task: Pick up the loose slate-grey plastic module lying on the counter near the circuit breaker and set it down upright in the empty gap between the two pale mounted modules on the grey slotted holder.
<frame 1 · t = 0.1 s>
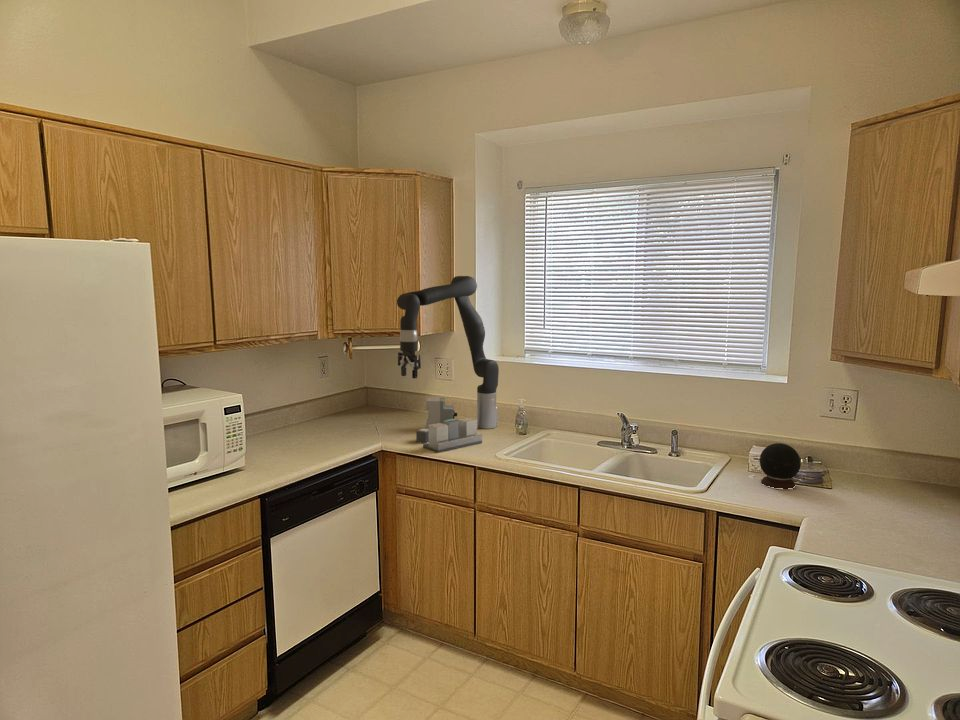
hand: (409, 377, 271), 29 cm above the worktop, fingers open, 8 cm apart
module: (451, 438, 283), on the worktop
grey slotted holder: (452, 445, 271), on the worktop
circuit breaker: (442, 430, 296), on the worktop
black ball on stand: (778, 485, 221), on the worktop
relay: (424, 441, 277), on the worktop
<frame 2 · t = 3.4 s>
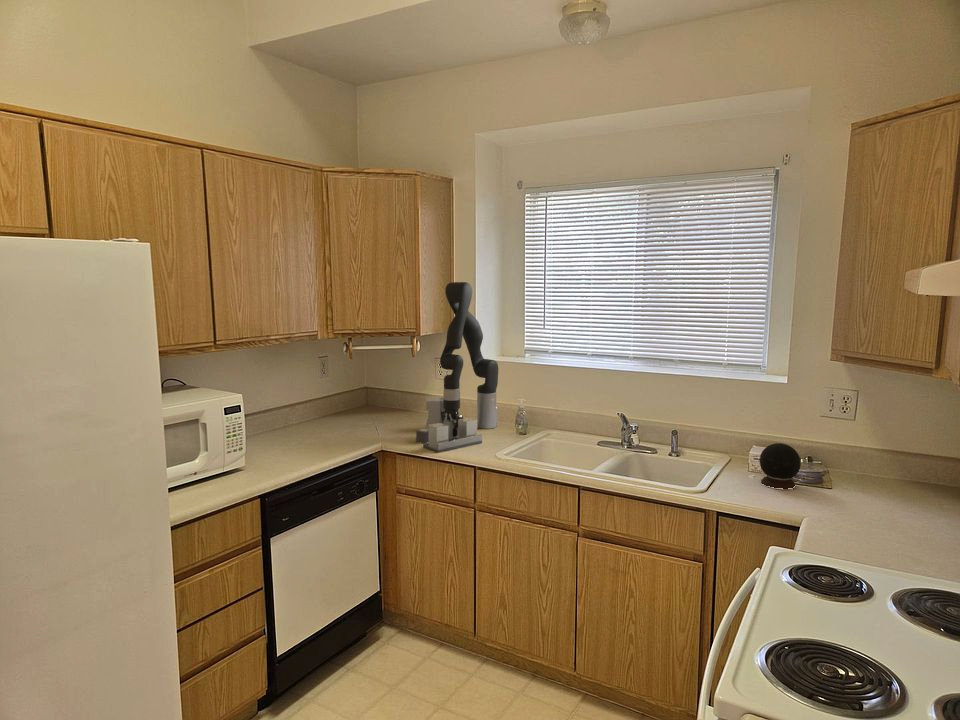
hand: (451, 435, 282), 1 cm above the worktop, fingers closed on module, 4 cm apart
module: (451, 438, 283), on the worktop, touching gripper
everything else where it was.
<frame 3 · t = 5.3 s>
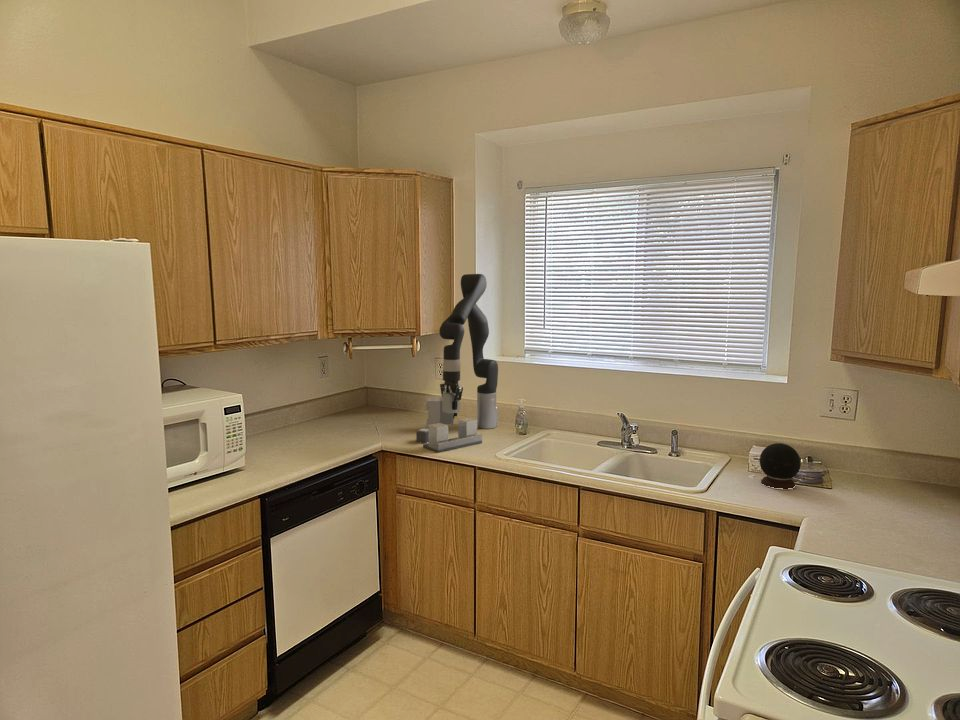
hand: (451, 408, 269), 16 cm above the worktop, fingers closed on module, 4 cm apart
module: (450, 411, 269), point 15 cm above the worktop, touching gripper
everything else where it was.
when the fingers open (4 cm above the worktop, at t = 7.3 s): module drops 1 cm, resting on grey slotted holder.
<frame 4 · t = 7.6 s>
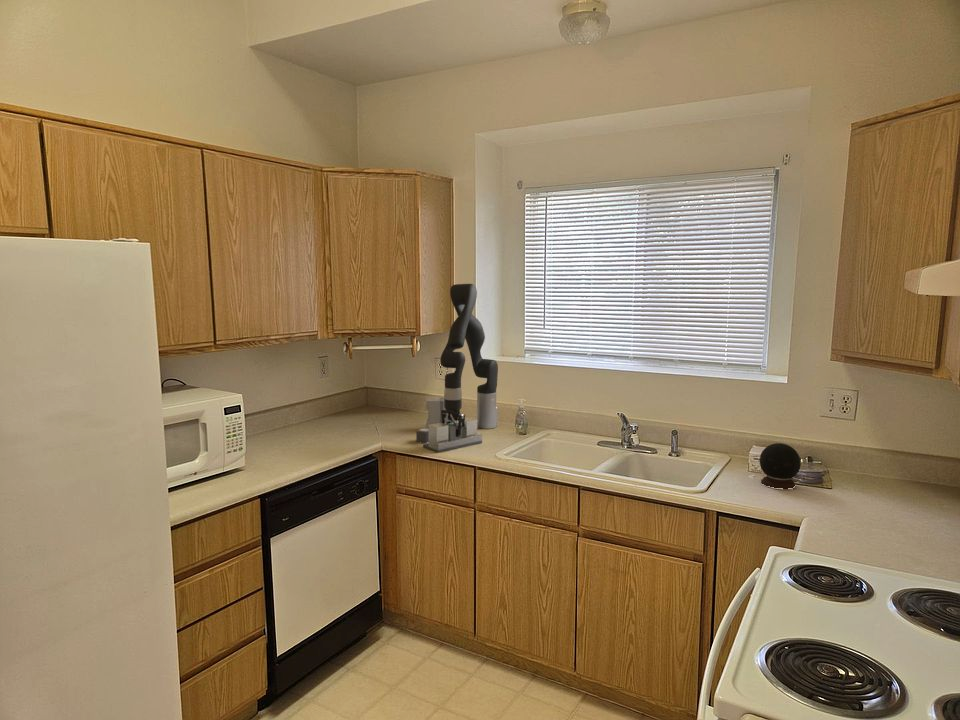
hand: (452, 435, 270), 4 cm above the worktop, fingers open, 6 cm apart
module: (452, 442, 270), point 1 cm above the worktop, touching grey slotted holder
everything else where it was.
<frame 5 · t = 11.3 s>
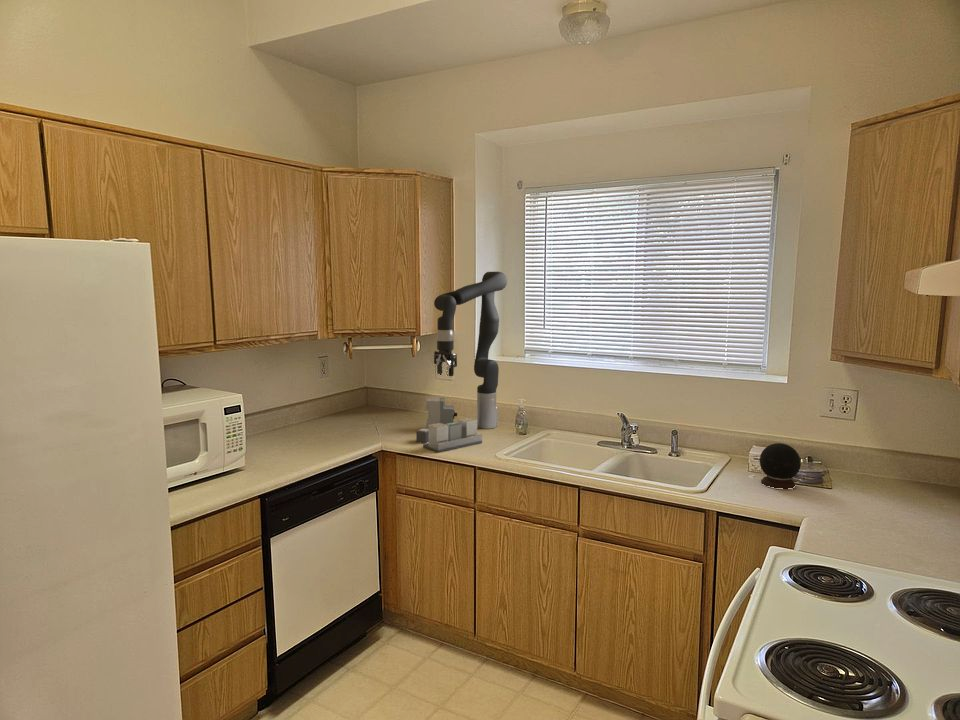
hand: (445, 374, 284), 28 cm above the worktop, fingers open, 8 cm apart
nothing on the worktop moved.
at the end: module inside the target area on the grey slotted holder (0.1 cm from its centre), point 1.2 cm above the grey slotted holder's base; module tilted 0°; the gripper is holding nothing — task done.
